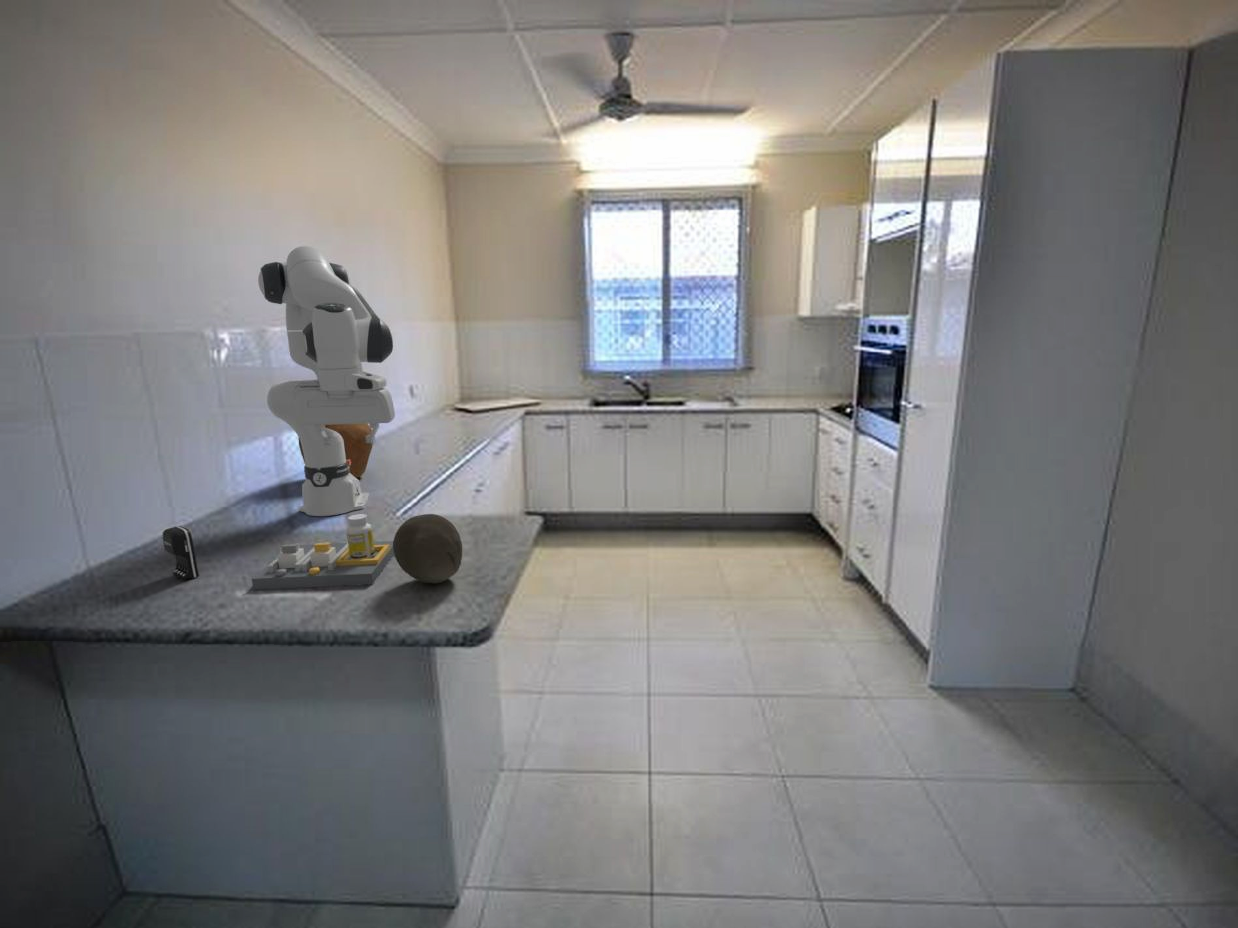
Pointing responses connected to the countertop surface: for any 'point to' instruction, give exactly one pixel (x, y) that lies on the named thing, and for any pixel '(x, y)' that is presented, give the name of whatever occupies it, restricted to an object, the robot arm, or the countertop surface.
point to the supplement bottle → (360, 537)
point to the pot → (353, 445)
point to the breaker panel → (326, 569)
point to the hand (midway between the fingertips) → (349, 444)
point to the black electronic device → (181, 551)
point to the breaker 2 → (322, 554)
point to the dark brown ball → (428, 548)
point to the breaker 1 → (290, 555)
